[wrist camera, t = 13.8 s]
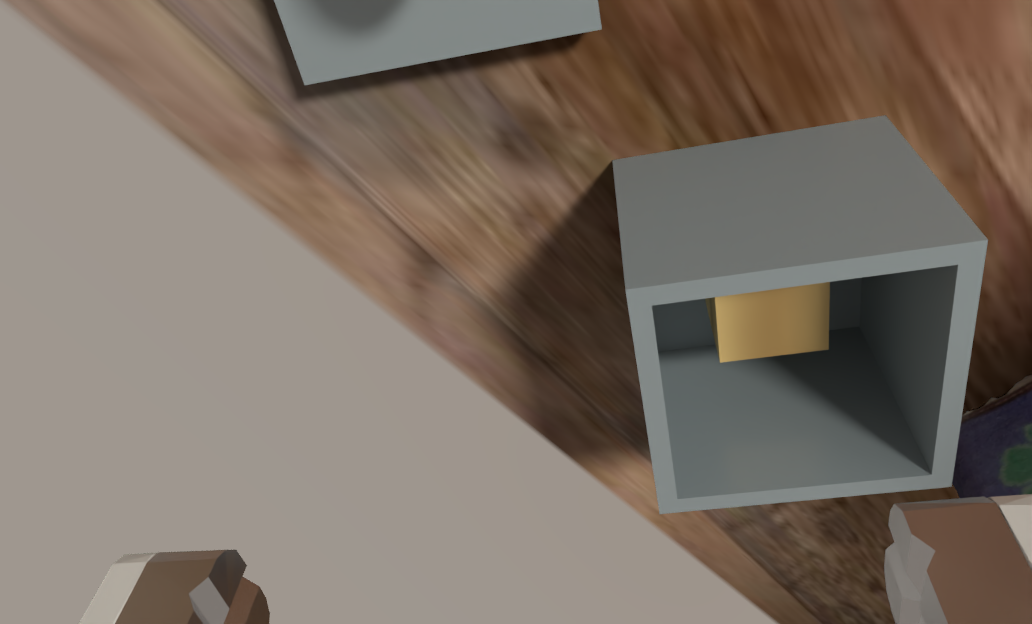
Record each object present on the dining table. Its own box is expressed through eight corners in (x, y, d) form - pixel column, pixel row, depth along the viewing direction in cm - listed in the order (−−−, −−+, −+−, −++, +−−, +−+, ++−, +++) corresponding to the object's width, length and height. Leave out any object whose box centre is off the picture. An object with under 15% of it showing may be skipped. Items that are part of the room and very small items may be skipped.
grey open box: (884, 114, 30) (987, 239, 22) (872, 330, 35) (951, 486, 28) (612, 159, 31) (625, 289, 24) (641, 358, 37) (659, 514, 30)
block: (803, 205, 31) (830, 260, 28) (803, 289, 34) (828, 349, 30) (698, 220, 32) (713, 276, 29) (705, 302, 34) (719, 362, 31)
